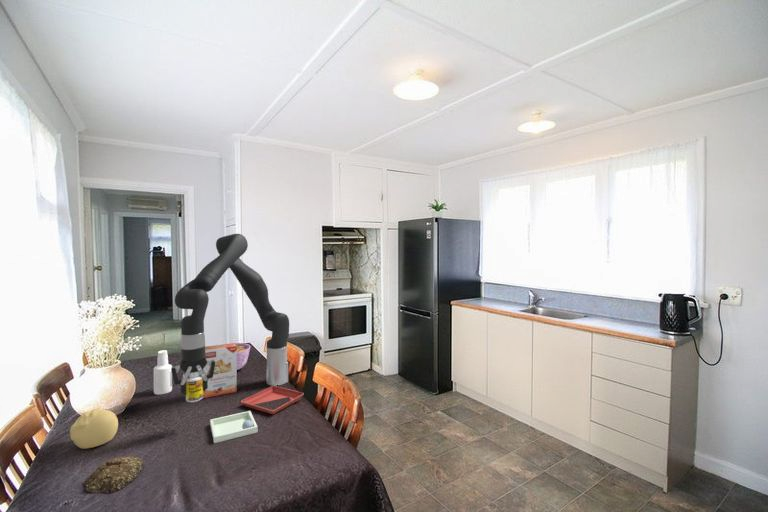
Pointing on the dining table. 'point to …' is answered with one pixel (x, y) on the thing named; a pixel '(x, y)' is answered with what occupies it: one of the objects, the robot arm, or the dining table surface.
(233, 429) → the tray
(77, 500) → the dining table surface
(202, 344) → the robot arm
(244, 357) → the bowl of food
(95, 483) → the mottled brown rock
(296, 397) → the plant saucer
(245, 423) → the ball
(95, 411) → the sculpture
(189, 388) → the supplement bottle
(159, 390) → the spray bottle
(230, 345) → the cracker box
